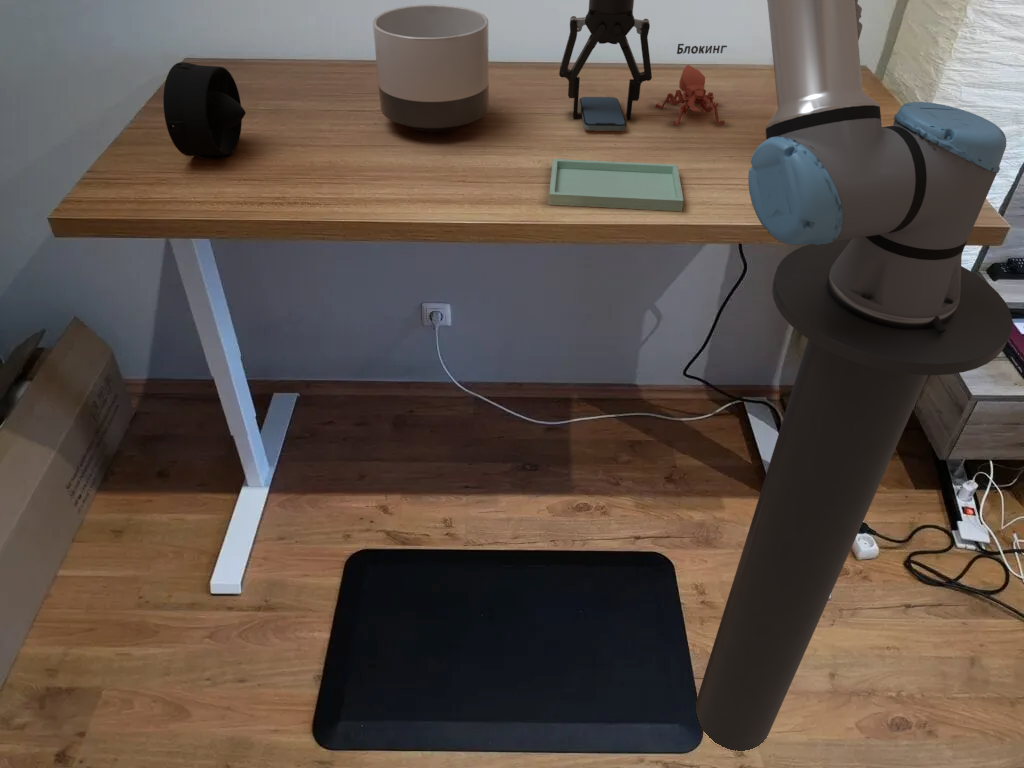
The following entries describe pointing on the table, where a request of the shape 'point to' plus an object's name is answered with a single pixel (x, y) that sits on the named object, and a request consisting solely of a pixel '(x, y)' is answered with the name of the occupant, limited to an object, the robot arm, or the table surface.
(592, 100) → the smartphone
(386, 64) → the planter
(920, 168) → the robot arm
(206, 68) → the black ducted fan
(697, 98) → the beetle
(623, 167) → the green tray
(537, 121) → the table surface
